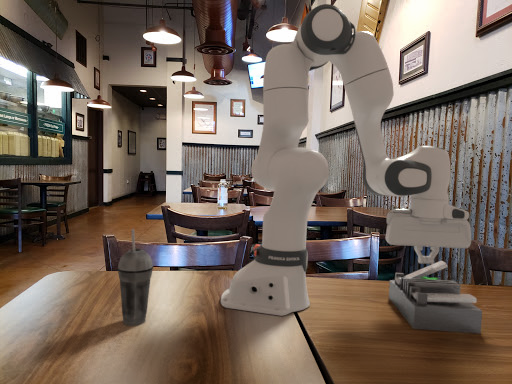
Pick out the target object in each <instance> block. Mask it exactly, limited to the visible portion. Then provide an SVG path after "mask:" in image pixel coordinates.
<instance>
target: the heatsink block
mask: <svg viewBox="0 0 512 384" xmlns="http://www.w3.org/2000/svg"><path fill="white" fill-rule="evenodd" d="M398 276H399V277H404V276H405V273H403V272H395V275H394V279H392V280H391V279H389V286H388V287H389V289H388V299H389V301H391V303H392V304H393V306H394V307H395V308H396V309H397V311H398V312H399V313H400V314H401V315H402V317H403V318H404V319H405V320H406V321H407V323H408V324H409V325H410V327H412V329H414V330H427V331H440V332H451V333H452V332H453V333H465V334H466V333H468V334H481V332H482V319H483V318H482V317H483V310H482V309H480V308H479V307H477V306H476V305H475V304H474V303H459V302H427V297H428V294H426V293H444V294H461V284H458V282H456V281H455V280H444V279H438V280H431V279H415V278H400V286H399V285H398V284H397V283H396V281H395V278H396V277H398ZM415 290H417V291H419V292H420V293H417V295H416V299H415V298H414V297H413V296H412V292H413V291H415Z"/></svg>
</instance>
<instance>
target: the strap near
mask: <svg viewBox="0 0 512 384" xmlns="http://www.w3.org/2000/svg"><path fill="white" fill-rule="evenodd" d="M417 293H420V292H419V291H417V290H415V291H413V292H412V296H413V297H414V298H415V299H416V295H417ZM426 294H428V297H427V302H459V303H472V304H476V303H477V301H478V299H477V297H475V296H474V295H472V293H471V294H470V293H460V294H444V293H426Z"/></svg>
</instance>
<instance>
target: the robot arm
mask: <svg viewBox="0 0 512 384" xmlns="http://www.w3.org/2000/svg"><path fill="white" fill-rule="evenodd" d="M328 63H330V64H332V65H333V66H334V67H335V68H336V69H337V70H338V72H339V74H340V78H341V81H342V84H343V86H344V90H345V94H346V96H347V99H348V102H349V105H350V110H351V114H352V118H353V123H354V127H355V128H354V129H355V132H356V137H357V140H358V145H359V148H360V152H361V156H362V163H363V166H362V167H363V168H362V183H363V185H364V187H365V189H366V190H367V191H368V192H369V193H371V194H372V195H375V196H379V197H381V196H383V197H384V196H385V197H386V196H389V197H397V198H398V197H403V198H404V197H407V196H410V202H409V203H410V207H409V208H400V209H399V208H393V209H392V210H389V211H388V212H387V214H386V218H385V219H386V221H385V222H386V224H387V226H386V232H385V241H386V242H387V243H388V244H389V245H393V246H409V247H410V246H411V247H413V249H414V251H415V253H416V255H417V256H418V257H417V262H418V264H421V265H422V264H424V265H425V264H427V265H432V264H434V263H435V258H436V257H437V255H438V254H439V253H440V248H448V249H449V248H451V249H468V248H470V246H471V244H472V228H471V224H470V222H469V221H468V219H469V217H470V212H469V211H467V210H464V209H462V208H459V207H457V206H455V205H451V204H450V202H449V201H450V198H449V197H450V196H449V193H448V192H449V191H448V189H449V186H450V183H451V159H450V155H449V152H448V151H447V150H446V149H444V148H443V147H442V148H441V147H438V146H433V145H419V146H417V147H416V148H415V149H414V150H412V151H411V152H408V153H407V154H404V155H402V156H398V157H396V158H390V157H389V155H388V154H387V151H386V147H385V143H384V139H383V138H384V137H383V135H382V133H383V132H382V128H381V124H382V123H381V122H382V118H383V116H384V115H385V112H386V110H387V109H388V107H389V106H390V104H391V103H392V101H393V99H394V92H395V91H394V84H393V78H392V76H391V75H392V74H391V73H390V69H389V65H388V62H387V61H386V58H385V55H384V52H383V51H382V48H381V46H380V44H379V42H378V41H377V39H376V37H375V36H374V34H373V33H372V32H369V31H365V30H364V31H363V30H360V31H359V30H358V31H357V30H356V26H355V25H354V24H353V23H352V22H351V21H350V20H349V19H348V16H347V15H346V14H345V13H344V12H343V11H342V10H341V9H340V8H339V7H337V6H336V5H334V4H329V3H325V4H320V5H318V6H317V5H316V6H315V7H313V8H312V9H311V10H310V11H309V12H307V13H306V15H305V16H304V18H303V19H302V22H301V23H300V25H299V27H298V28H297V31H296V34H295V36H294V39H293V42H291V43H287V44H286V43H284V44H279V45H276V46H273V47H272V48H271V49H270V50H269V51H268V53H267V55H266V57H265V63H264V71H263V83H262V84H263V86H262V88H263V89H262V92H263V98H262V99H263V125H262V132H261V137H260V143H259V147H258V152H257V154H256V156H255V158H254V160H253V162H252V164H251V176H252V178H253V181H254V182H255V183H256V184H257V185H258V186H260V187H261V188H264V189H265V190H268V191H271V192H273V196H272V199H271V203H270V205H269V208H268V209H267V210H266V211H265V213H264V214H263V217H262V241H261V244H259V243H258V244H257V243H256V244H255V245H254V246H253V248H252V249H253V260H252V261H251V262H249V263H247V264H245V266H244V267H242V268H240V269H239V270H238V271H237V272H235V273H234V275H233V278H232V279H231V282H230V287H229V288H227V289H225V290H224V291H223V293H222V294H221V297H220V304H221V306H223V308H226V309H233V310H238V311H247V312H251V313H252V312H254V313H261V314H266V315H272V316H273V315H274V316H281V317H282V316H286V315H288V314H291V313H294V312H300V311H303V310H306V309H307V308H308V307H310V304H311V303H310V299H309V295H308V294H309V293H308V287H307V277H306V276H307V275H306V272H307V268H308V260H309V258H308V256H309V255H308V254H309V253H308V248H307V233H308V232H307V231H308V230H307V229H308V220H309V214H310V210H311V208H312V205H313V203H314V200H315V198H316V196H317V194H318V192H319V191H320V190H321V189H322V188H323V187H324V186H325V185H326V184H327V181H328V180H329V179H328V178H329V175H330V173H329V172H330V168H329V163H328V160H327V159H326V157H325V156H324V155H323V154H322V153H321V152H320V151H317V150H313V149H311V148H307V147H299V144H300V140H301V137H302V134H303V132H304V130H305V129H306V128H307V126H308V124H309V80H308V78H309V72H310V71H313V70H316V69H320V68H322V67H323V66H325V65H326V64H328ZM423 247H429V248H430V250H431V252H430V253H429V255H423V253H422V252H421V251H423Z"/></svg>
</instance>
